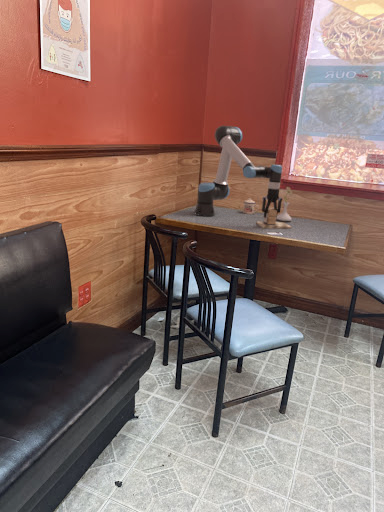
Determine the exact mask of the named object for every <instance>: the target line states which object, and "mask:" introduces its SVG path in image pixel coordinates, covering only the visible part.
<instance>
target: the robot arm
mask: <svg viewBox="0 0 384 512" xmlns="http://www.w3.org/2000/svg"><path fill="white" fill-rule="evenodd" d="M214 138H215V141H216V142H217V144H218V145H219V147H221V153H220V157H219V161H218V166H217V171H216V176H215V179H213V180H212V182H208V181H207V182H202V183H199V184H198V190H197V191H198V192H197V204H196V207H195V209H194V213H196V214H199V215H205V216H204V217H215V209H214V208H215V207H214V201H217V200H219V201H222V200H225V199H227V198H228V197H229V195H230V191H231V190H230V187H229V182H228V177H229V174H230V168H231V164H232V160H233V161H234V162H235V163H236V164H237V165H238V167H240V169H241V170H242V174H243V177H245V178H247V179H261V178H262V179H263V178H264V179H269V180H268V189H267V193H266V194H267V195H266V196H262V205H261V212H262V213H263V222H265V223H267V217H268V213H267V211H268V208H270V206H271V204H272V203H273V209H275V210H277V215H276V218H277V216H278V215H279V214H278V213H280V214H281V209H282V206H281V205H282V203H283V198H282V197H280V196H279V195H280V189H281V180H282V174H283V165H281V164H271V166H264V165H256V166H255V165H254V163H252V161H251V160H250V159H249V158H248V157H247V156H246V154H245V153H244V152H243V151H242V150H241V149H240V148H239V147H238V144H240V143H241V141H242V140H243V131H242V130H241V129H240V128H239V127H237V126H233V125H220V126H218V127H217V128H216V129H215V132H214ZM277 202H278V203H277ZM194 213H193V214H194ZM199 215H198V216H199ZM264 218H265V220H264Z"/></svg>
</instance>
